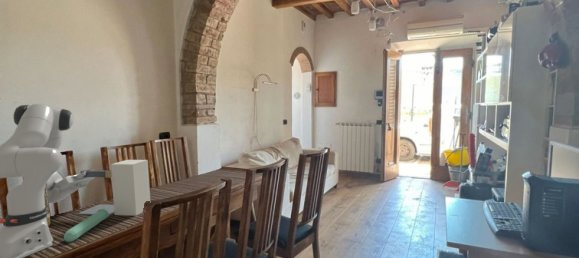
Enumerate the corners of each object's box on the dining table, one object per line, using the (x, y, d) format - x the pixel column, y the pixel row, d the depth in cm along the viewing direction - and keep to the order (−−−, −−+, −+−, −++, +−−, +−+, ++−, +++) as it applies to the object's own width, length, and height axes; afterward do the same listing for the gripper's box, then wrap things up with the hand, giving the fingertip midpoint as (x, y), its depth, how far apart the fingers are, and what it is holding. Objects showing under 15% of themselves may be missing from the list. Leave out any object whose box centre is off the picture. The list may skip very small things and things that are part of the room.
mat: (109, 215, 151) (109, 214, 151) (78, 214, 153) (78, 213, 153) (128, 206, 165) (128, 205, 165) (99, 205, 167) (99, 204, 167)
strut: (114, 177, 154) (113, 171, 154) (80, 177, 157) (79, 171, 157) (119, 175, 158) (119, 170, 158) (86, 175, 161) (85, 169, 161)
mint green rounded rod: (71, 228, 121) (105, 206, 145) (57, 234, 121) (94, 211, 145) (78, 241, 121) (111, 217, 146) (64, 247, 121) (99, 222, 146)
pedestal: (136, 215, 150) (132, 164, 148) (114, 214, 151) (110, 164, 149) (150, 207, 162) (147, 159, 159) (130, 206, 163) (127, 159, 161)
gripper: (49, 184, 151) (68, 171, 148) (82, 174, 171) (100, 163, 168) (55, 195, 151) (75, 182, 148) (88, 184, 171) (106, 172, 168)
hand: (89, 171), depth 159 cm, fingers closed on strut, 3 cm apart
